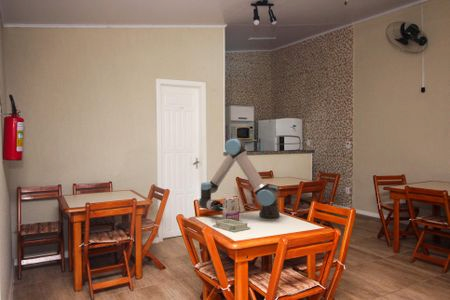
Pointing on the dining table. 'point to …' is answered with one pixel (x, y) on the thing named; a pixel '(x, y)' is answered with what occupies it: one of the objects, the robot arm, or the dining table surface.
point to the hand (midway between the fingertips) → (234, 209)
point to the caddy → (231, 225)
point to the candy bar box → (231, 208)
